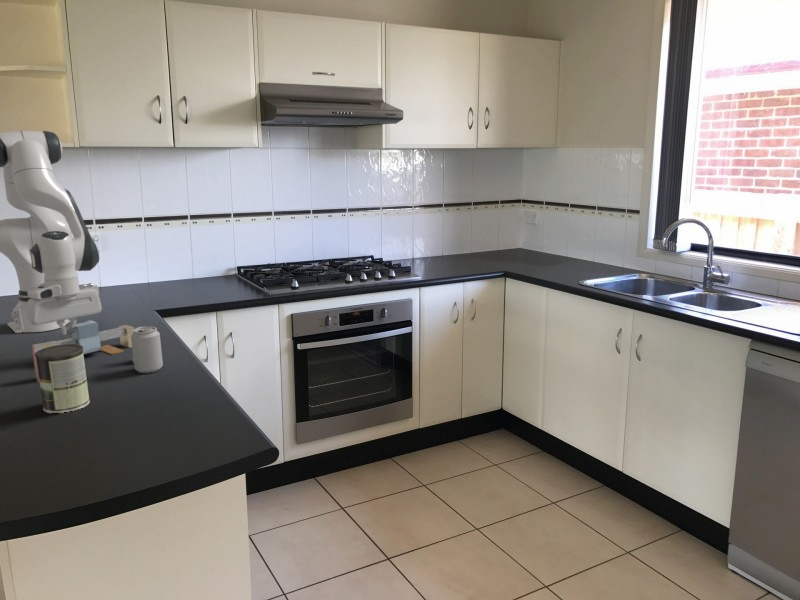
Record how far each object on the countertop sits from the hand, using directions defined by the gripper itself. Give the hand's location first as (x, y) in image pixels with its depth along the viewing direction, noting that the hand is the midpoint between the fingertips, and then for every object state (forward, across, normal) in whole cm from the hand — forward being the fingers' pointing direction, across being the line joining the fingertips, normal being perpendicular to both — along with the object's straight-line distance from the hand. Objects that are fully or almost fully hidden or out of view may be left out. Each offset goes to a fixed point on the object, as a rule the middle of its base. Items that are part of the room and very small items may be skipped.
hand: (68, 333), depth 196 cm
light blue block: (+6, -5, 0) cm, 8 cm away
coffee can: (+8, +18, +37) cm, 42 cm away
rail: (+8, -7, 0) cm, 10 cm away
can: (+8, -9, +28) cm, 30 cm away
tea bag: (+8, +11, +12) cm, 18 cm away
